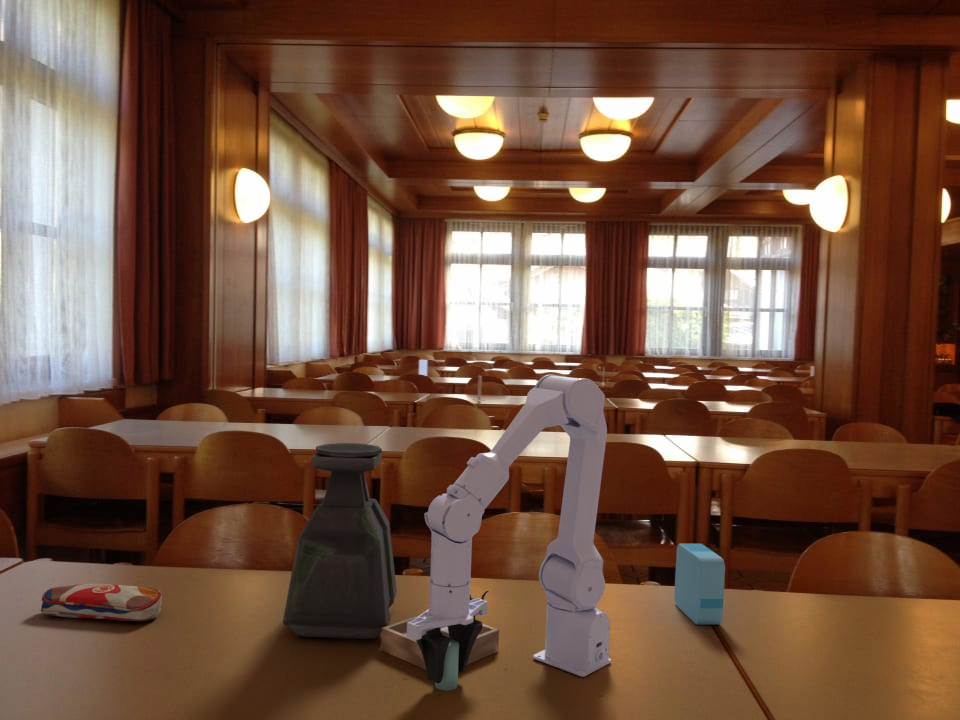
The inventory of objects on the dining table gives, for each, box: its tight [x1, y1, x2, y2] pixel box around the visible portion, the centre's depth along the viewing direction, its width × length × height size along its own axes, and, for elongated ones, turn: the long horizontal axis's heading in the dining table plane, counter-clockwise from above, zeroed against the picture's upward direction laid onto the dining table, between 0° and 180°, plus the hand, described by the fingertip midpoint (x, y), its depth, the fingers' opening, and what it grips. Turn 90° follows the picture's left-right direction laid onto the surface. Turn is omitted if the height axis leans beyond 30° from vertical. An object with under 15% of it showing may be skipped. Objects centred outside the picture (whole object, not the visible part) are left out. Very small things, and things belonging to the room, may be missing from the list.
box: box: [380, 614, 500, 671], centre depth 124 cm, size 13×13×4 cm
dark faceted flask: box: [282, 442, 398, 640], centre depth 133 cm, size 18×16×30 cm
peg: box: [434, 640, 459, 691], centre depth 112 cm, size 3×3×6 cm
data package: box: [674, 543, 726, 626], centre depth 145 cm, size 12×4×12 cm, turn 6°
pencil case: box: [40, 583, 163, 622], centre depth 134 cm, size 11×20×5 cm, turn 70°
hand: (446, 675), depth 112 cm, fingers open, 4 cm apart
